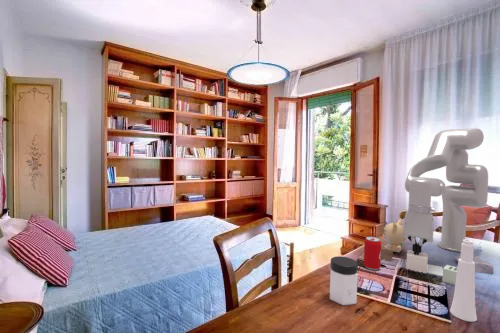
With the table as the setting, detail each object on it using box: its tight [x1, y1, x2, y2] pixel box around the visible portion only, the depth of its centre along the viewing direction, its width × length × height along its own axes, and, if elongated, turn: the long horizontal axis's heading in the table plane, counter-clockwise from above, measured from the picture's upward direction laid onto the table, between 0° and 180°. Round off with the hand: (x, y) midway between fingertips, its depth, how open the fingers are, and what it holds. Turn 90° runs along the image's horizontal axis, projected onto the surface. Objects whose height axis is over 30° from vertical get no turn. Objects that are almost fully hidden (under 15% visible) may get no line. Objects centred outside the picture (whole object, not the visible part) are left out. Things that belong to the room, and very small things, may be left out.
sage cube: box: [442, 264, 458, 286], centre depth 96 cm, size 5×5×5 cm
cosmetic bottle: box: [449, 239, 478, 323], centre depth 76 cm, size 6×6×22 cm
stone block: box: [454, 254, 494, 275], centre depth 110 cm, size 12×5×10 cm
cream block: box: [405, 249, 429, 274], centre depth 108 cm, size 7×7×6 cm
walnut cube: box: [381, 244, 394, 261], centre depth 118 cm, size 5×5×5 cm
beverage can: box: [363, 236, 382, 271], centre depth 107 cm, size 6×6×12 cm
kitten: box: [382, 218, 407, 253], centre depth 127 cm, size 15×10×15 cm
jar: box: [329, 255, 359, 306], centre depth 84 cm, size 9×8×12 cm
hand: (416, 253), depth 108 cm, fingers closed
